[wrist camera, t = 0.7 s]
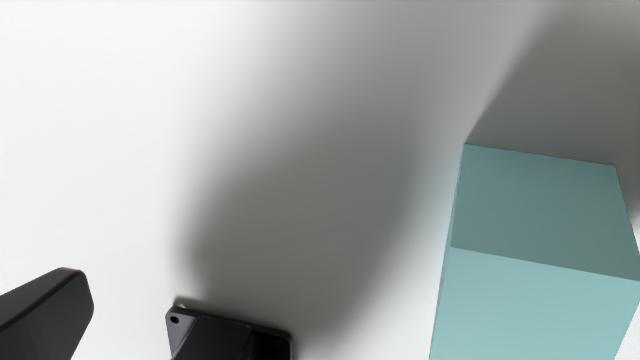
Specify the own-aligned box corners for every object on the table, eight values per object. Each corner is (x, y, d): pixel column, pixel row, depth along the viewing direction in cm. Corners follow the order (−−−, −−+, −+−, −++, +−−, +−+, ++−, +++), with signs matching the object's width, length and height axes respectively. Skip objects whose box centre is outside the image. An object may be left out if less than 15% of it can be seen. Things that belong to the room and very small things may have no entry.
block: (575, 276, 23) (593, 406, 18) (444, 251, 24) (427, 368, 19) (614, 164, 20) (647, 282, 15) (464, 143, 21) (450, 246, 16)
